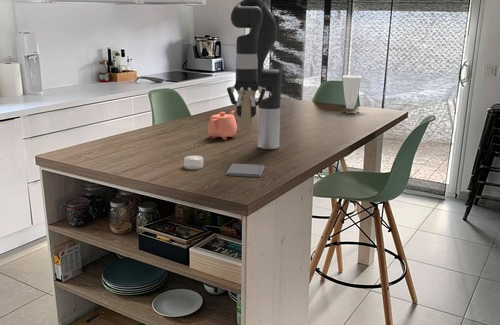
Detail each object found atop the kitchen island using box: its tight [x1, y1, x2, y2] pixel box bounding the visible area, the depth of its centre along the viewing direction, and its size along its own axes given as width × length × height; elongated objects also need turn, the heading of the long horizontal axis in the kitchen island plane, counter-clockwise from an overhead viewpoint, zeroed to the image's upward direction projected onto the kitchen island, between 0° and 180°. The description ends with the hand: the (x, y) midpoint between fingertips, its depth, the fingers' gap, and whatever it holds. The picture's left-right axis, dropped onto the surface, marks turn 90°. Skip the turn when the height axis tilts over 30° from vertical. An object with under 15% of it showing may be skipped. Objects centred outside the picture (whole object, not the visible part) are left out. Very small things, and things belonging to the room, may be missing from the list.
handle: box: [236, 90, 257, 134], centre depth 180 cm, size 5×6×15 cm
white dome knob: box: [183, 155, 204, 170], centre depth 191 cm, size 7×7×4 cm
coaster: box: [225, 163, 265, 178], centre depth 185 cm, size 12×12×1 cm
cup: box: [342, 74, 363, 110], centre depth 309 cm, size 12×12×22 cm
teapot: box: [207, 110, 238, 141], centre depth 239 cm, size 20×12×12 cm, turn 152°
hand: (246, 116), depth 180 cm, fingers closed on handle, 4 cm apart
